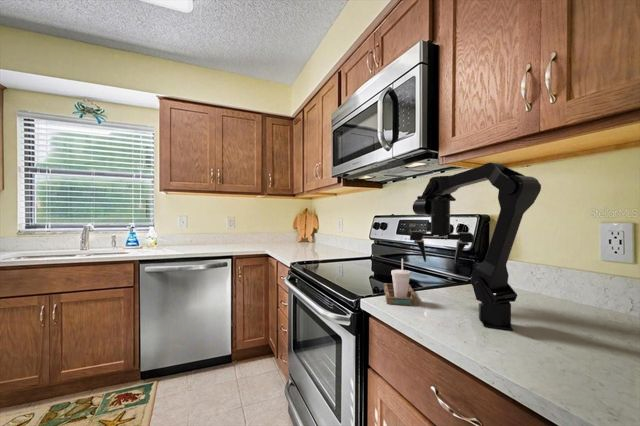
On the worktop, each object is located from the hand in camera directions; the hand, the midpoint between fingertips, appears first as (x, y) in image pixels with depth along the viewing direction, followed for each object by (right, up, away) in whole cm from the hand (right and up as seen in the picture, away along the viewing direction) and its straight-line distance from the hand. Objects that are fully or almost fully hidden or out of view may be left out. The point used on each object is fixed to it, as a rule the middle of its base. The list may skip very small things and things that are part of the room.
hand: (440, 262), depth 91 cm
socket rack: (-12, -13, +6) cm, 19 cm away
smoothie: (-12, -13, +2) cm, 18 cm away
